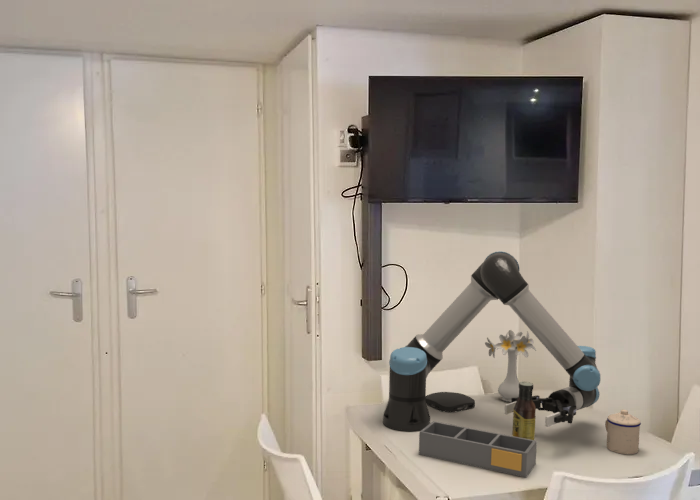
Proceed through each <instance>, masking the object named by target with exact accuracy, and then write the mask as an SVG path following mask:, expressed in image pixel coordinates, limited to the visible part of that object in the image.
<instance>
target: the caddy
mask: <svg viewBox="0 0 700 500" xmlns="http://www.w3.org/2000/svg"><path fill="white" fill-rule="evenodd" d="M418 434H419V435H418V438H419V441H418V455H420V456H425V457H429V458H433V459H440V460H442V461H443V460H444V461H448V462H452V463H457V464H462V465H468V466H471V467H476V468H479V469H485V470H490V471H494V472H499V473H503V474H508V475H512V476H517V477H522V478H528V476H529V474H530V472H531V471H532V470H533V469H534V467H535V465H536V463H537V446H538V445H537V443H538V442H537V440H536V439H534V440H531V439H525V438H520V437H515V436H512V435H509V434H503V433H497V432H493V431H488V430H487V431H486V430H482V429H477V428H473V427H467V426H463V425H462V426H461V425H457V424H456V425H455V424H449V423H445V422H440V421H435V420H433V421H430V424H429V425H428V426H426V427H425V428H424V429H422V430H419V433H418Z"/></svg>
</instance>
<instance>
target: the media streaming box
mask: <svg viewBox="0 0 700 500" xmlns="http://www.w3.org/2000/svg"><path fill="white" fill-rule="evenodd" d="M425 400H426V404H427V406H429V407H431V408H434V409H435V410H437V411H440V410H441V412H443V411H445V413H456V412H455V411H457V412H462V411H467V410H471V409H474V408H475V406H476V400H475V399H473V397H470V396H469V395H466V394H463V393H460V392H452V391H436V392H433V393H430V394H427V395H426V396H425ZM461 410H462V411H461Z"/></svg>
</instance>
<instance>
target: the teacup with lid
mask: <svg viewBox="0 0 700 500" xmlns="http://www.w3.org/2000/svg"><path fill="white" fill-rule="evenodd" d="M604 423H605V424H604V425H605V431H606V433H607V434H606V436H607V437H606V448H607V449H608V450H609V451H611V452H613V453H616V454H621V455H634V454H637V453H638V452H639V444H640V428H641V424H642V423H641V420H640V419H639V418H637V416H633V414H630V413H629V411H628V410H627V409H620V412H617V413H612V414H609V415H608V416H607V418H606V420H605V422H604Z"/></svg>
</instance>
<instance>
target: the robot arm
mask: <svg viewBox="0 0 700 500" xmlns="http://www.w3.org/2000/svg"><path fill="white" fill-rule="evenodd" d="M498 300H499V301H500V302H501V303H502V304H503V305H504V306H509V307H510V309H512V311H513V312H514V313H515V314H516V315H517V316H518V318H519V319H520V320H521V321H522V322H523V323H524V325H526V327H527V328H528V329H529V330H530V332H532V334H533V335H534V336H535V337H536V338H537V339H538V341H539V342H540V343H541V344H542V345H543V346H544V347H545V349H546V350H547V351H548V352H549V354H551V356H553V357H554V359H555V360H556V361H557V362H558V363H559V364H560V366H561V367H562V368H563V369H564V371H565V372H566V373H567V374H568V375H569V381H568V383H569V385H568V386H567V387H563V388H560V389H558V390H555V391H553V392H551V393H550V394H549V395H548V397H544V398H543V397H542V398H541V397H540V395H532V400H533V402H534V404H535V407H536V410H538V411H546V412H552V414H549V415H546V416H545V418H544V419H545V421H544V426H545V427H547V428H548V427H551V426H553V425H556V424H560V423H565V422H567V423H568V424H570V425H571V424H573V421H574V420H573V419H574V416H576V415H577V411H579V410H582V409H585V408H588V407H591V406H592V405H594V404H595V403H597V402H598V400H599V398H600V394H601V393H600V390H599V388H598V387H599V386H600V383H601V373H600V370H599V369H598V366H597V363H596V359H597V356H596V354H597V351H596V349H595V348H593V347H591V346H586V345H578V344H577V343H576V342H575V341H574V340H573V338H571V337H570V336H569V335H568V333H567V332H566V330H564V329H563V327H562V326H561V325H560V324H559V323H558V321H556V319H555V318H554V317H553V316H552V315H551V314H550V312H549V311H548V310H547V309H546V308H545V306H543V305H542V303H541V302H540V300H538V299H537V297H536V296H535V295H534V294H533V293H532V292H531V291H530V289H529V283H528V282H527V281H526V280H525V279H524V277H523V276H522V274H521V272H520V265H519V261H518V260H517V259H516V258H515V257H514V256H513V255H512V254H510V253H509V252H507V251H495V252H492V253H490V254H488V255H487V256H486V257H485V259H484V261H483V262H482V263H481V264H480V265H479V266H478V267H477V269H475V270H474V272H473V273H472V274H471V275H470V283H469V284H468V285H467V286H466V287H465V289H463V291H461V292H460V294H459V295H458V296H457V297H455V299H454V300H453V301H452V302H451V303H450V305H449V306H448V307H447V308H446V309H445V310H444V311H443V312H442V313H441V315H440V316H439V317H438V318H437V319H436V320H435V321H434V322H433V323H432V324H431V325H430V326H429V328H428V329H427V330H425V332H424V333H422V334H421V333H420V334H415V336H414V337H413V338H412V340H411V341H410V342H409V343H408V344H407V345H405V346H404V347H400V348H396V349H394V350H393V351H392V352H391V353H390V356H389V360H388V361H389V362H388V366H389V375H388V376H389V379H388V380H389V382H388V383H389V384H388V387H389V388H388V401H387V403H386V406H385V409H384V412H383V414H382V424H383V425H384V426H385V427H387V428H389V429H392V430H395V431H400V432H401V431H403V432H418V431H421V430H422V429H424V428H425V427H426V426H428V425H429V424H430V423H431V416H430V412H429V408H428V405H427V404H426V400H425V396H427V395H426V391H427V386H426V385H427V377H429V376H428V375H429V374H430V372H432V370H434V369H435V367H436V366H437V365H438V364H439V363H440V362H441V361H442V360H443V352H444V351H445V350H447V348H448V347H449V345H451V344H452V342H453V341H454V340H455V339H457V337H458V336H459V335H460V334H461V333H462V332H463V330H465V328H467V327H468V326H469V324H470V323H471V322H472V321H473V320H474V319H475V318H476V317H477V316H478V315H479V313H481V312H482V310H483V309H484V308H486V306H487V305H488V304H489V303H490V302H491V301H498ZM517 399H518V397H516V398H512V399H511V402H508V403H506V404H504V415H509V414H511V413H512V414H513V411H514V407H515V404H516V402H517Z"/></svg>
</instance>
